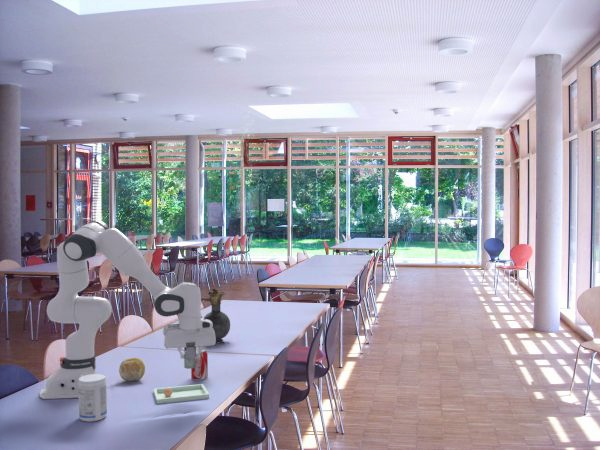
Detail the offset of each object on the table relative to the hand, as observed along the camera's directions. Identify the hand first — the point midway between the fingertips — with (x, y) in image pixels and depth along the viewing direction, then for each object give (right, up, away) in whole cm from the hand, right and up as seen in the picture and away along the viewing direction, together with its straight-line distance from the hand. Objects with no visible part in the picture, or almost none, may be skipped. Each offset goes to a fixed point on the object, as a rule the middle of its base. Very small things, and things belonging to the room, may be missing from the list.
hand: (190, 357), depth 237 cm
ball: (-8, -15, -2) cm, 17 cm away
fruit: (-29, -15, +22) cm, 40 cm away
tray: (-4, -16, 0) cm, 16 cm away
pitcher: (-5, -13, +96) cm, 97 cm away
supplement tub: (-31, -17, -22) cm, 42 cm away
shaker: (0, -4, 0) cm, 4 cm away
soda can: (0, -15, +24) cm, 29 cm away
